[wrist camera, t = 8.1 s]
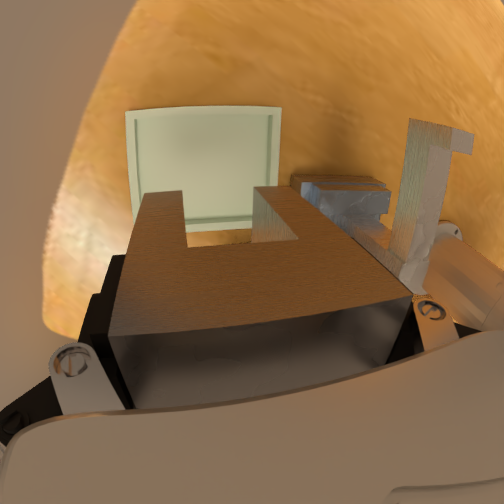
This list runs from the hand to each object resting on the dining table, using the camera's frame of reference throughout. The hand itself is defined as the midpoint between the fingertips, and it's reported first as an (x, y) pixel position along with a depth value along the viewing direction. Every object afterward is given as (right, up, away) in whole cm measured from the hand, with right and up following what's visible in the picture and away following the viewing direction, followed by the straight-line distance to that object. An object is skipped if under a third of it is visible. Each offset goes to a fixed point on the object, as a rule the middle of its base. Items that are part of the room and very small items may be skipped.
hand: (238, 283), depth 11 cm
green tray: (-4, +9, +18) cm, 20 cm away
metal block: (-1, +2, +4) cm, 5 cm away
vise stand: (+9, +9, +21) cm, 25 cm away
